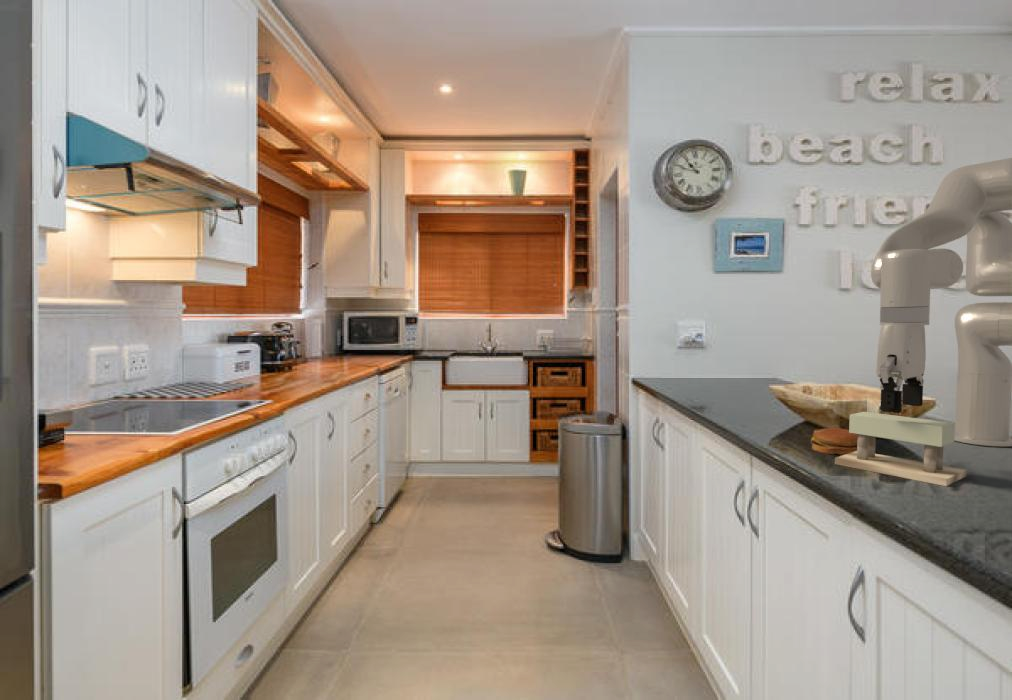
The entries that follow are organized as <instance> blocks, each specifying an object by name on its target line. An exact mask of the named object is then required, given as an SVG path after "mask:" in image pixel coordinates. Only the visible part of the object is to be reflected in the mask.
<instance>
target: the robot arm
mask: <svg viewBox="0 0 1012 700" xmlns="http://www.w3.org/2000/svg"><path fill="white" fill-rule="evenodd" d="M1004 211H1012V157H1010V158H1002V159H997V160H992V161H986V162H981V163H980V162H979V163H976V164H975V163H974V164H969V165H965V166H961V167H958V168H956V169H954V170H951V171H950V172H949V173H948V174H946V176H945V177H944V178H943V180H942V181H941V183H940V185H939V187H938V189H937V190H936V192H935V194H934V197H933V198H932V200H931V201H930V204H929V205H928V208H927V209H926V211H925V212H924V213H922V214H920V215H919V216H918V215H917V216H916V217H915V218H913V219H912V220H910V221H908V222H906V223H905V224H904V225H903V226H901V227H899V228H897V229H896V230H894V231H893V232H892V233H891V234H890V235H889V234H888V236H887V237H886V238H885V239H884V241H883V243H882V244H881V246H880V248H879V249H878V252H876V255H875V257H874V260H873V262H872V265H871V269H870V277H871V280H872V282H873V284H874V286H876V288H878V289H880V302H879V303H880V304H879V306H880V309H879V325H880V326H881V327H880V330H879V337H878V344H877V345H878V346H877V358H876V369H875V370H876V371H875V372H876V373H875V375H876V376H877V377H878V378H879V381H880V386H879V387H880V388H879V389H880V411H881V412H886V413H894V414H900V413H902V411H903V409H902V406H903V405H904V406H914V407H922V406H923V398H924V396H923V395H924V393H923V392H924V383H925V382H924V381H925V380H924V377H923V376H924V375H925V374H924V373H925V370H926V358H927V357H926V355H927V353H926V350H927V349H926V329H925V326H929V325H930V312H931V311H930V310H931V307H930V305H931V304H930V303H931V290H935V289H936V290H939V289H945V288H949V287H951V286H953V285H955V284H957V282H958V281H959V280H960V279H961V277H962V274H963V272H964V262H963V260H962V258H961V256H960V254H958V253H957V252H956V251H954V250H952V249H948V248H936V247H939V246H943V245H946V244H948V243H951V242H955V241H957V240H959V239H961V238H963V237H965V236H966V238H967V239H966V258H965V259H966V261H965V286H966V290H967V291H968V293H969V294H971V295H973V296H978V297H1012V221H1010V219H1009V218H1007V216H1005V215H1004V214H1002V213H1001V212H1004ZM954 328H955V335H956V341H957V355H958V356H957V378H956V380H957V381H956V383H957V384H956V402H955V421H954V423H955V433H954V442H959V443H964V444H969V445H976V446H986V447H987V446H988V447H998V448H999V447H1001V448H1004V447H1005V448H1006V447H1012V436H1011V435H1010V426H1011V425H1010V423H1011V406H1012V362H1011V360H1010V359H1009V357H1008V356H1007V355H1006V354H1005V352H1003V350H1002V349H1001V348H1000V347H1002V346H1003V347H1004V346H1009V347H1010V346H1011V347H1012V302H1011V301H1010V302H1007V301H1005V302H1004V301H1003V302H1002V301H999V302H976V303H971V304H967V305H965V306H963V307H961V308H960V309H958V311H957V313H956V314H955V317H954ZM903 381H904V383H903ZM901 387H902V390H901Z"/></svg>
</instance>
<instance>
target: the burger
mask: <svg viewBox="0 0 1012 700" xmlns="http://www.w3.org/2000/svg"><path fill="white" fill-rule="evenodd" d="M857 438H858V434H856V433H849V429H845V428H839V427H838V428H837V427H830V428H829V427H827V428H819V429H815V430H813V434H812V437H811V439H810V444H811V449H812V451H814V452H819V453H821V454H827V455H840V456H843V455H846V454H849V453H852V452H855V451H857Z"/></svg>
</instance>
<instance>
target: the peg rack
mask: <svg viewBox="0 0 1012 700" xmlns="http://www.w3.org/2000/svg"><path fill="white" fill-rule="evenodd" d="M876 438H877V437H875V436H868V435H862V434H858V438H857V451H855V452H852V453H849V454H846V455H840V456H836V457H834V465H837V466H839V465H840V466H842V467H848V468H853V469H859V470H864V471H869V472H874V473H877V474H883V475H888V476H893V477H899V478H902V479H908V480H913V481H917V482H922V483H923V482H924V483H929V484H933V485H939V486H944V487H948V486H950V485H952V484H953V483H956V482H958V481H960V480H962V479H964V478H965V477H967V469H965V468H958V467H953V466H947V465H943V464H944V447H945V446H943V447H939V446H932V445H926V444H923V445H924V448H923V449H924V450H923V461H918V460H915V459H908V458H904V457H903V458H901V457H895V456H891V455H884V454H880V453H879V454H878V453H876V440H877V439H876Z"/></svg>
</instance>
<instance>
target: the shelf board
mask: <svg viewBox="0 0 1012 700" xmlns="http://www.w3.org/2000/svg"><path fill="white" fill-rule="evenodd" d="M848 426H849V427H848V428H849V429H848V430H849V433H856V434H862V435H868V436H875V437H876V438H880V439H881V438H882V439H888V440H893V441H895V440H896V441H900V442H901V441H902V442H908V443H914V444H921V445H924V444H926V445H932V446H939V447H943V446H944V447H945V446H948V445H951V444H953V443H955V441H954V433H955V422H950V421H943V420H941V421H940V420H936V419H935V420H933V419H925V418H916V417H909V416H903V415H902V416H901V415H895V414H893V415H892V414H885V413H879V412H878V413H877V412H869V411H861V412H856V413H851V414H849V424H848ZM944 447H943V448H944Z"/></svg>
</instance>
